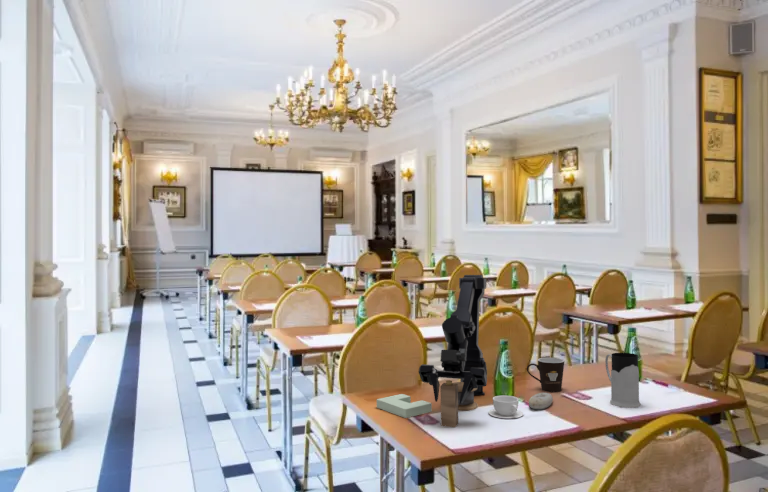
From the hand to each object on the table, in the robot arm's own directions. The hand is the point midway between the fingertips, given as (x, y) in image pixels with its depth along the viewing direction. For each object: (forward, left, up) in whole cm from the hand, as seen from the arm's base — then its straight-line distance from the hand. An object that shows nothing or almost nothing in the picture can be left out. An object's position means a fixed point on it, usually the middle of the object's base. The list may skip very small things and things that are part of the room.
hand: (448, 401), depth 160 cm
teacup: (-19, -7, -7) cm, 22 cm away
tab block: (-1, -1, -7) cm, 7 cm away
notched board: (+9, -18, -7) cm, 21 cm away
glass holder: (-59, -11, -7) cm, 60 cm away
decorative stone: (-34, -13, -7) cm, 37 cm away
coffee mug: (-44, -30, -7) cm, 54 cm away
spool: (-10, -17, -7) cm, 21 cm away
